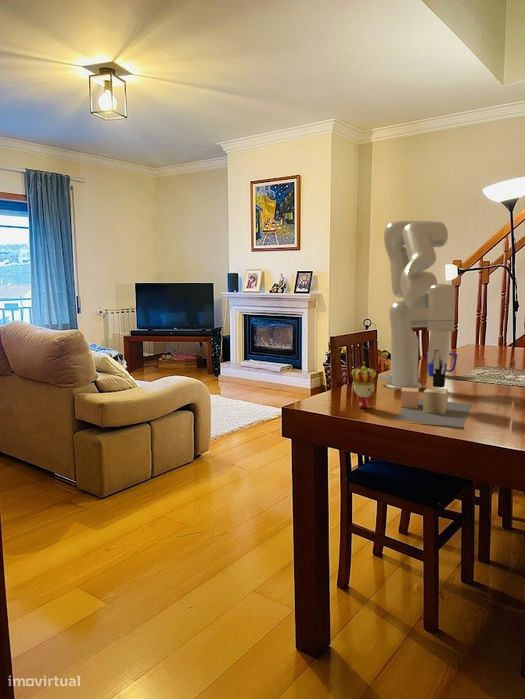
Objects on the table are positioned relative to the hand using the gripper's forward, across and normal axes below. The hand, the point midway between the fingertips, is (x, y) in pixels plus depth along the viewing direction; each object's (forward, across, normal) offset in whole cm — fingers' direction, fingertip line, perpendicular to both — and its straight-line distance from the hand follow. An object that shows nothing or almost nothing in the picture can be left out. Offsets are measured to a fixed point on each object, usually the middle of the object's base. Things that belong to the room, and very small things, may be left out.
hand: (438, 386), depth 154 cm
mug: (+7, -58, -8) cm, 59 cm away
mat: (+7, +6, 0) cm, 9 cm away
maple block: (+3, +2, 0) cm, 4 cm away
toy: (+7, +11, -20) cm, 24 cm away
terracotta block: (+6, +2, -8) cm, 10 cm away
